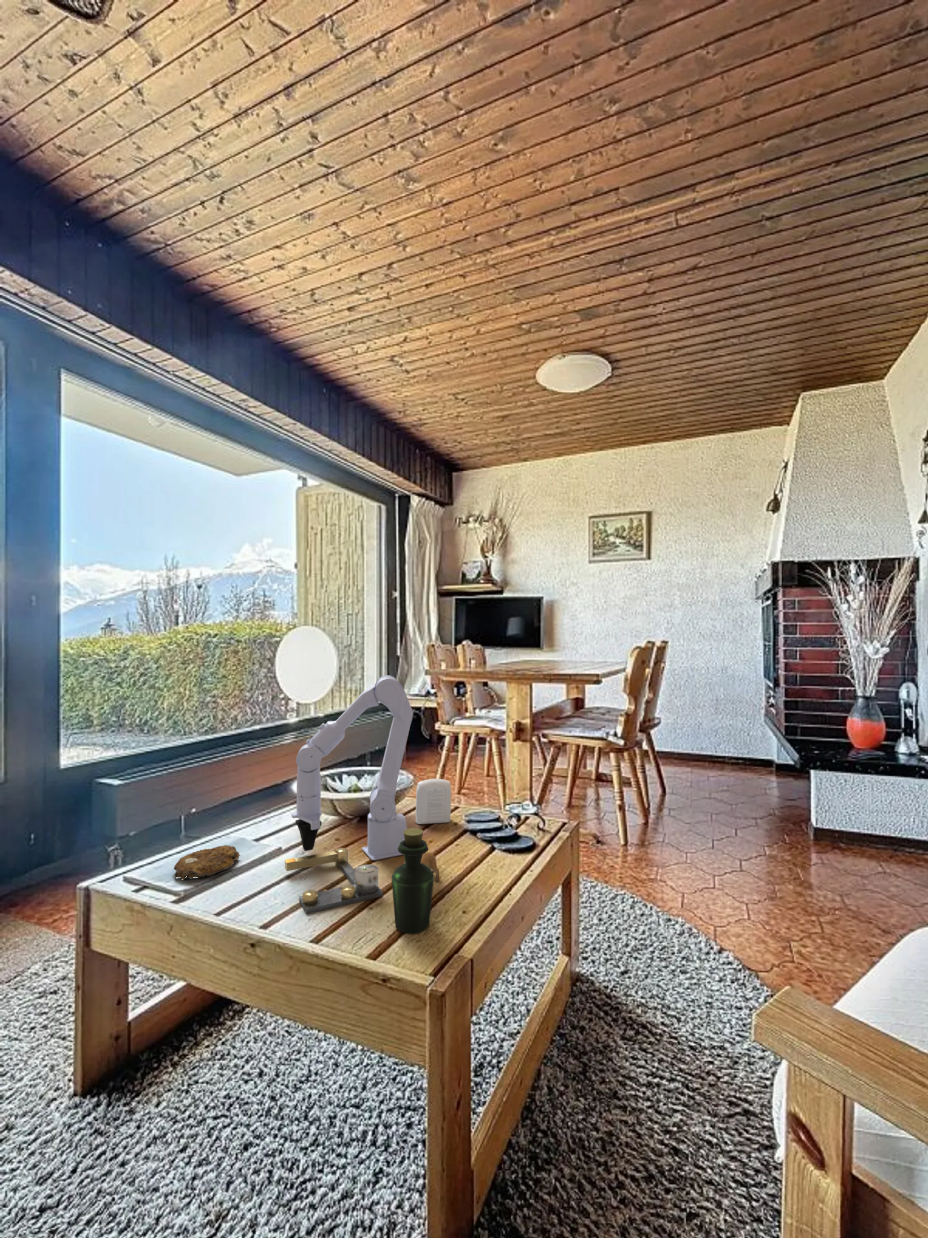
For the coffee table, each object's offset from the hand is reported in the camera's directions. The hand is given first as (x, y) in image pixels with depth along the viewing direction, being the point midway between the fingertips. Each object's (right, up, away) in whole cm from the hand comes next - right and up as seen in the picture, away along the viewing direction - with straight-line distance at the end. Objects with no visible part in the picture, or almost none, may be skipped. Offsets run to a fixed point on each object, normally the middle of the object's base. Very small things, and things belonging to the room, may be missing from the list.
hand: (308, 849), depth 142 cm
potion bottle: (+28, -2, -31) cm, 42 cm away
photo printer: (+29, -2, +25) cm, 39 cm away
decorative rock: (-22, -2, -7) cm, 23 cm away
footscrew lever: (+4, -2, -7) cm, 8 cm away
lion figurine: (+29, -2, -17) cm, 34 cm away
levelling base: (+10, -2, -16) cm, 19 cm away
